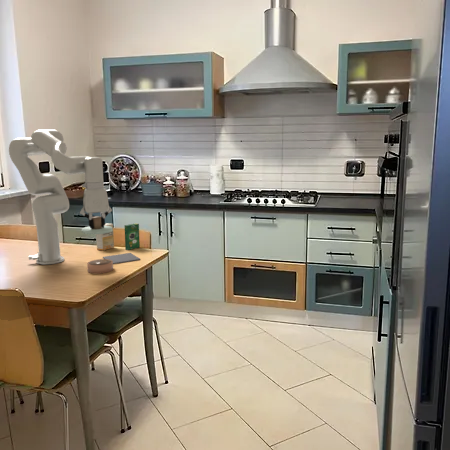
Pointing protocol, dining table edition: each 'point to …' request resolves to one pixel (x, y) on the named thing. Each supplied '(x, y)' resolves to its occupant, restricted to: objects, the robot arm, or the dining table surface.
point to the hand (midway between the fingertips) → (97, 227)
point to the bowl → (100, 266)
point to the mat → (122, 258)
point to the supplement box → (105, 239)
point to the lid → (97, 227)
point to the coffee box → (132, 236)
